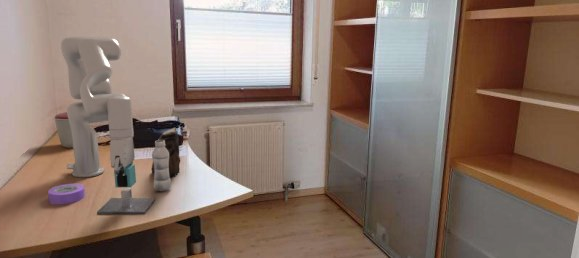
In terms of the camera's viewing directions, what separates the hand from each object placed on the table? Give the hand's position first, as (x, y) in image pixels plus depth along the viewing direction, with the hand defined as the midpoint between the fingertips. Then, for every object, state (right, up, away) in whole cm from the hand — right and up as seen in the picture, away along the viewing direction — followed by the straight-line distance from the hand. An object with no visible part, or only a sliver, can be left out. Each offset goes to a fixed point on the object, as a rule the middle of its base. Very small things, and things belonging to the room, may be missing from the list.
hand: (125, 183), depth 140 cm
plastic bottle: (+7, -5, +18) cm, 20 cm away
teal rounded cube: (0, -1, 0) cm, 1 cm away
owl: (+3, -1, +37) cm, 38 cm away
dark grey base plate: (0, -9, +2) cm, 9 cm away
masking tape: (-25, -7, +9) cm, 28 cm away
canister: (-61, +10, +80) cm, 101 cm away
